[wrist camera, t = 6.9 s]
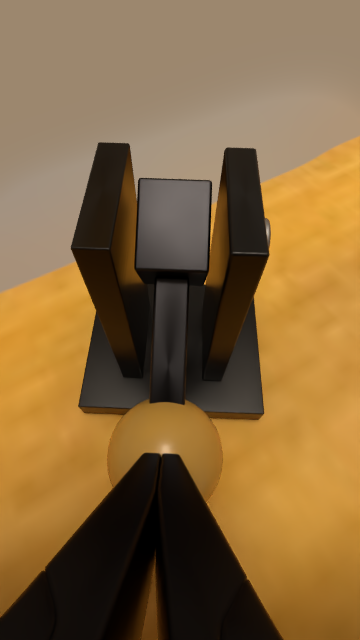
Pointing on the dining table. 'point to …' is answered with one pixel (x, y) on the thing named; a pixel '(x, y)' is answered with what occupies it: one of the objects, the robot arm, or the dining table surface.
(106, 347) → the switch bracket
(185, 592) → the robot arm
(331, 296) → the dining table surface
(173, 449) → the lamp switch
